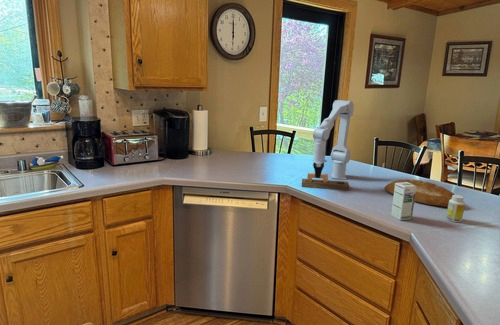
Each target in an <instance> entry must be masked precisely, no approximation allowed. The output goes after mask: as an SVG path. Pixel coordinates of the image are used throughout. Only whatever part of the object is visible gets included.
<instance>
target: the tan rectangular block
mask: <svg viewBox="0 0 500 325" xmlns="http://www.w3.org/2000/svg"><path fill="white" fill-rule="evenodd" d="M306 179H307V182H312V179H317V178H316V177H315V172H307V178H306ZM319 180H323V183H327V182H328V180H329V174H328V173H321V176H320V178H319Z"/></svg>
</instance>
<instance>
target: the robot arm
mask: <svg viewBox="0 0 500 325" xmlns="http://www.w3.org/2000/svg"><path fill="white" fill-rule="evenodd" d="M354 109H355V104H354V102H353V101H352V100H341V99H339V100H338V99H336V100H334V101H333V103H332V110H331V111H330V114H329V116H328V117H326V118H324V119H323V121H322V122H321V123H320V125H319V127H317V128H315V129H314V131H313V133H312V138H313V142H314V148H313V158H312V159H313V160H312V162H313V164H312V166H313V168H314V173H315V177H316V178H315V179H320V176H321V174H322V171H323V170H324V167H325V163H327V162H328V160H327V159H326V150H327V149H326V147H327V141H328V139H329V138H330V134H331V130H332V129H333V127H334V125H335V121H336V119H338V117H340V122H339V129H338V130H339V131H338V136H337V143H336V145H335V146H333V147H332V149H331V153H330V160H331V161H332V162H333V164H332V172H331V173H330V175H331V179H335V180H336V179H338V180H347V176H346V171H347V164H348V163H349V162H350V160H351V149H350V148H349V147H348V145H347V141H348V137H349V136H348V135H349V128H350V122H351V121H350V120H351V117H352V116H354V111H355V110H354Z"/></svg>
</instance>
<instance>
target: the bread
mask: <svg viewBox="0 0 500 325" xmlns="http://www.w3.org/2000/svg"><path fill="white" fill-rule="evenodd" d="M404 182H408V183H411V184H414V185H415V186H416V193H415V200H414V203H419V204H424V205H428V206H429V205H430V206H438V207H445V208H446V207H447V208H448V204H449V200H450V199H452V195H456V194H455V193H453V191H450V190H448V189H446V188H445V187H443V186H440V185H437V184H434V183H433V182H430V181H423V180H419V179H408V178H407V179H406V178H405V179H397V180H394V181H392V182H390V183H388V184H386V185H385V187H384V190H385V191H386V192H388V193H389V194H391V195H393V196H394V189H395V183H404Z"/></svg>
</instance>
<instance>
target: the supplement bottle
mask: <svg viewBox="0 0 500 325" xmlns="http://www.w3.org/2000/svg"><path fill="white" fill-rule="evenodd" d="M464 199H465V198H464V196H462V195H458V194H455V195H452V199H450V200H449V204H448V207H447V212H446V216H445V217H446V220H447V221H450V222H454V223H461V222H462V221H463V217H464V210H465V206H466V205H465V204H466V202H465V200H464Z"/></svg>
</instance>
